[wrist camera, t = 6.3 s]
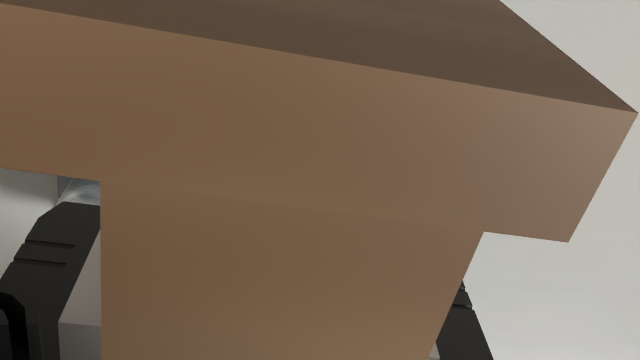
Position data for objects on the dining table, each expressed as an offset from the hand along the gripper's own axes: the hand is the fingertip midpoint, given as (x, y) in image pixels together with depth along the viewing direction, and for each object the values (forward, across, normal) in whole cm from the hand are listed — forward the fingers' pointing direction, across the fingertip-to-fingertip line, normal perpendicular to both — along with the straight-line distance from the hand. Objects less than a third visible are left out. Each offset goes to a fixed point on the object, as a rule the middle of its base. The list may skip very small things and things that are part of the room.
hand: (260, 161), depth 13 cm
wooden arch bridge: (+1, 0, -3) cm, 3 cm away
